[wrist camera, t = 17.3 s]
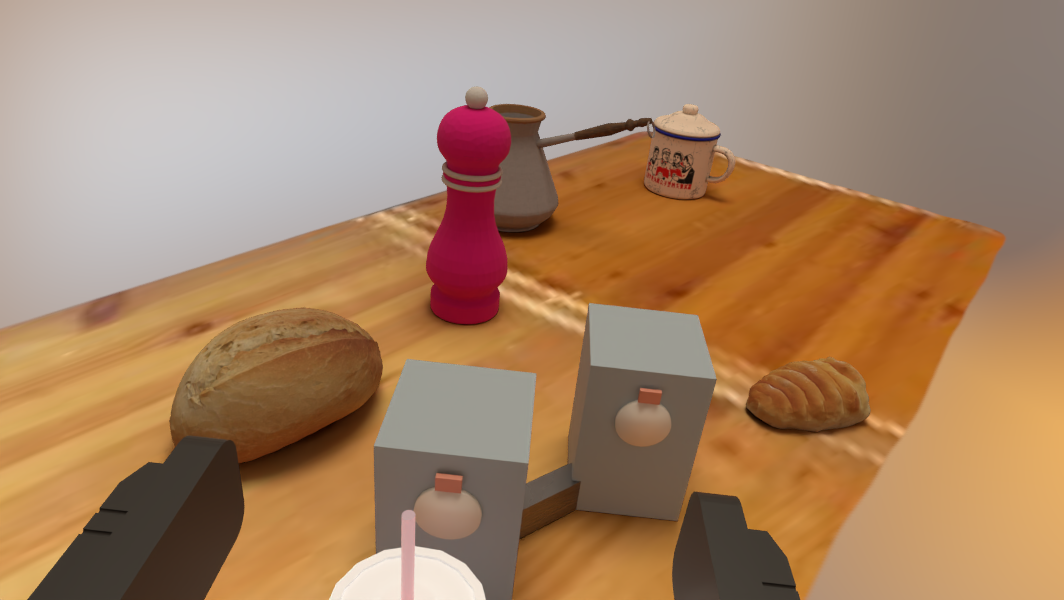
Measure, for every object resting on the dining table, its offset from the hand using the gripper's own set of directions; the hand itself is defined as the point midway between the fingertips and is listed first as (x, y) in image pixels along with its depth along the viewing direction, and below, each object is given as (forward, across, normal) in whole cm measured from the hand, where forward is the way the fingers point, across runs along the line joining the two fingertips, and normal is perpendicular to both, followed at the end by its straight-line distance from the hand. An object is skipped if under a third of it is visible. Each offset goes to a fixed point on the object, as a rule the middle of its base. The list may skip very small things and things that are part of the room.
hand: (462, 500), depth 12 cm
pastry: (+37, +24, -24) cm, 50 cm away
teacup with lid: (+85, +20, -24) cm, 90 cm away
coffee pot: (+66, +1, -24) cm, 71 cm away
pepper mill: (+46, -5, -24) cm, 53 cm away
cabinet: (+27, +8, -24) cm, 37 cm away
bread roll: (+28, -15, -24) cm, 40 cm away
